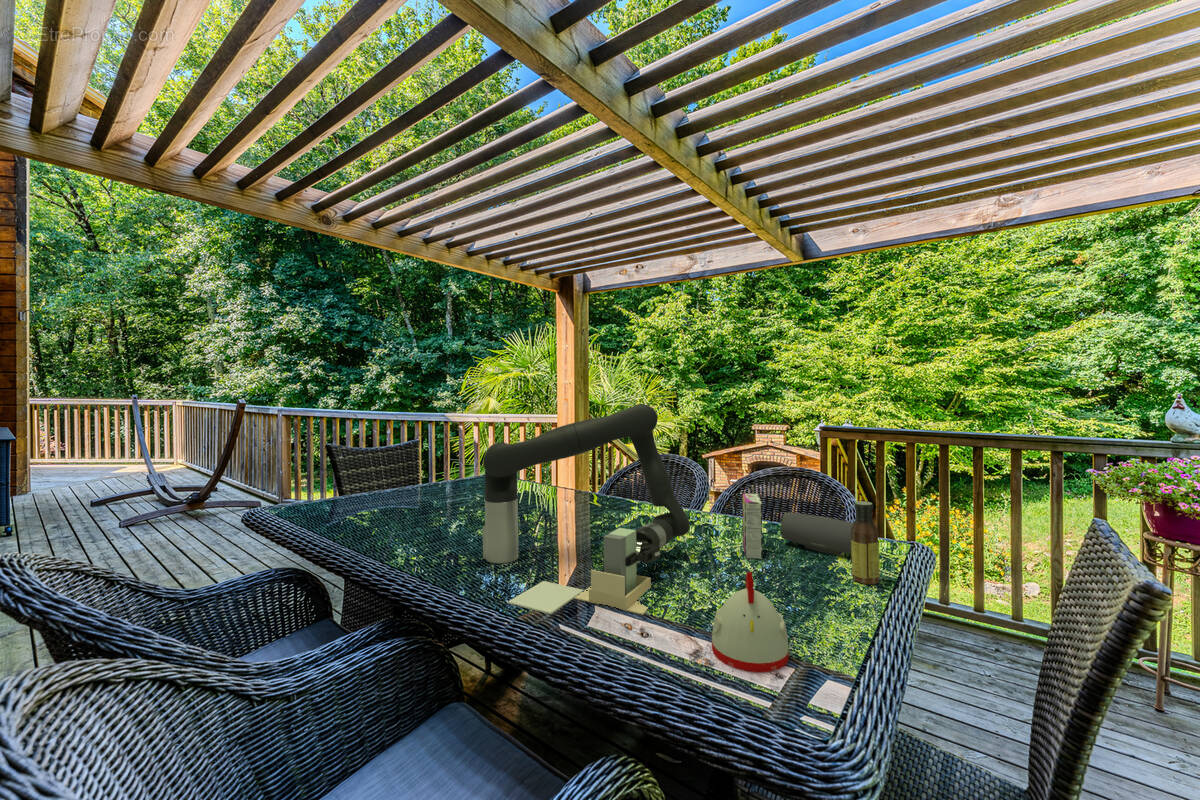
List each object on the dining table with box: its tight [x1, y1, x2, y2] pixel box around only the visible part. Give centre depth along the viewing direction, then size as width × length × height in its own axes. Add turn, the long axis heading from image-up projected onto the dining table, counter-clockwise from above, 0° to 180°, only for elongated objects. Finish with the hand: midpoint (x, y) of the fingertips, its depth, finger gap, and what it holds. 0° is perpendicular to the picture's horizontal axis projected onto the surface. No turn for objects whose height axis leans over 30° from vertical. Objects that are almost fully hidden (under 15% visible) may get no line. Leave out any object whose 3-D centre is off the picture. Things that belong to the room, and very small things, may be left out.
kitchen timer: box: [711, 571, 789, 673], centre depth 99 cm, size 14×14×15 cm
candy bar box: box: [741, 492, 763, 560], centre depth 154 cm, size 11×5×16 cm, turn 168°
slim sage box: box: [603, 527, 637, 596], centre depth 125 cm, size 4×8×15 cm, turn 150°
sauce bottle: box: [850, 500, 881, 585], centre depth 132 cm, size 7×6×20 cm
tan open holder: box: [573, 569, 652, 616], centre depth 127 cm, size 18×17×8 cm
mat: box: [507, 580, 585, 615], centre depth 125 cm, size 12×14×1 cm
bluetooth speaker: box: [779, 512, 854, 556], centre depth 156 cm, size 23×9×10 cm, turn 47°
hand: (617, 560), depth 123 cm, fingers closed on slim sage box, 4 cm apart
